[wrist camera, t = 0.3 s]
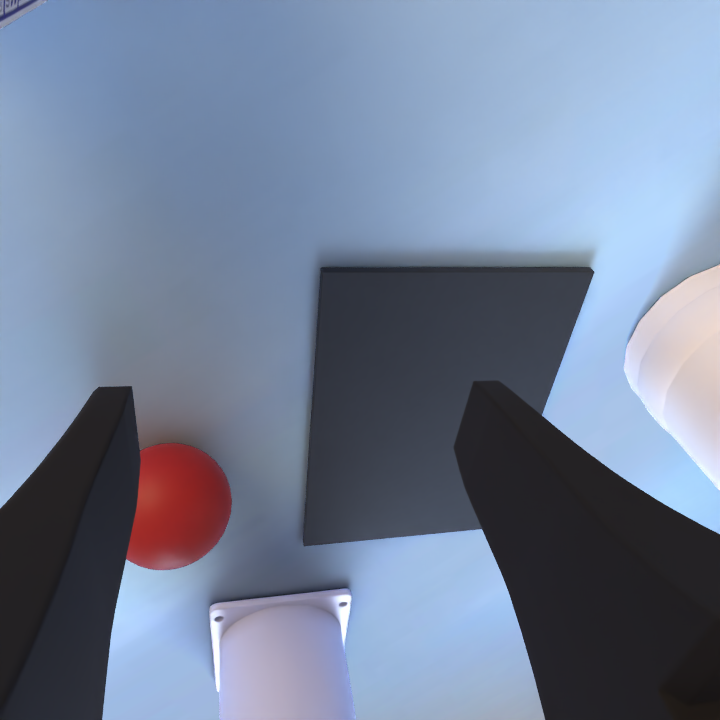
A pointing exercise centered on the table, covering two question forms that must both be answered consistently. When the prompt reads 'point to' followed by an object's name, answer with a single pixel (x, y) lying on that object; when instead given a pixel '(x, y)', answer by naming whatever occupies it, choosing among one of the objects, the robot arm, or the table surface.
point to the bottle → (682, 367)
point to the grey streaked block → (16, 9)
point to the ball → (178, 507)
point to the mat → (420, 386)
